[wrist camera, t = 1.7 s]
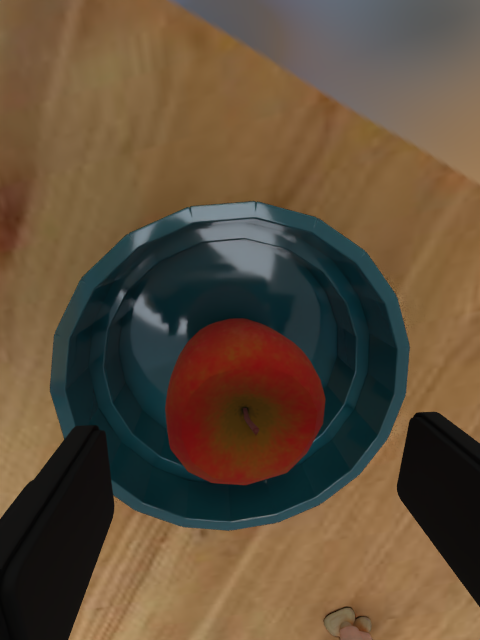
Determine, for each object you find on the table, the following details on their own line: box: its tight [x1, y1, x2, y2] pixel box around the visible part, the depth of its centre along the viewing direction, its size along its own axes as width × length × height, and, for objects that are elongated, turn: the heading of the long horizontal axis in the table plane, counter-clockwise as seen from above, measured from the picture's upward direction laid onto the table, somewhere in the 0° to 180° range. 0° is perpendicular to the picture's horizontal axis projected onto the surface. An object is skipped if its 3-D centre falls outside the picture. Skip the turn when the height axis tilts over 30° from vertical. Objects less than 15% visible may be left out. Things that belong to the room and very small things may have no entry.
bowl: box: [50, 201, 410, 531], centre depth 15 cm, size 15×15×5 cm
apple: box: [165, 318, 325, 485], centre depth 13 cm, size 6×6×8 cm
